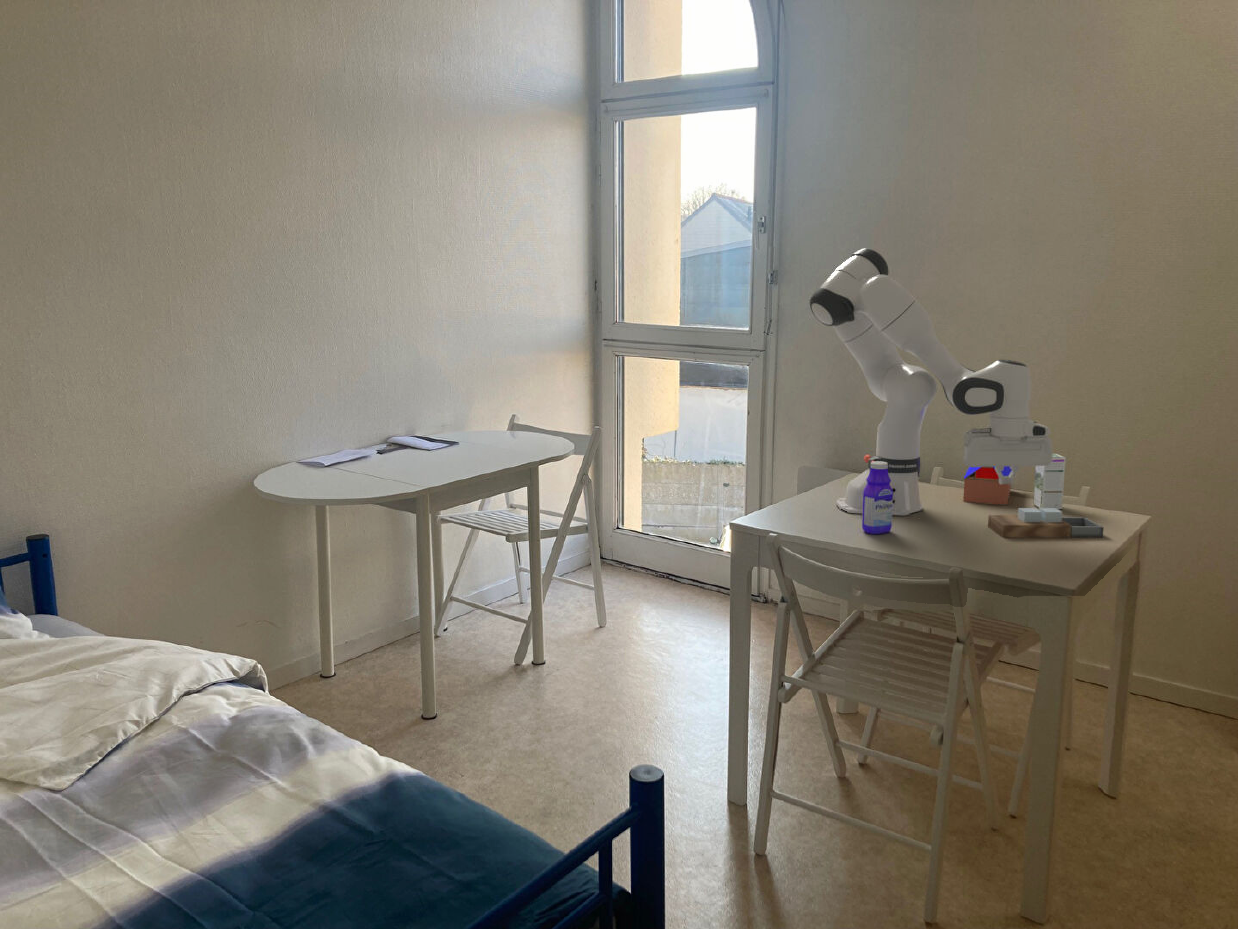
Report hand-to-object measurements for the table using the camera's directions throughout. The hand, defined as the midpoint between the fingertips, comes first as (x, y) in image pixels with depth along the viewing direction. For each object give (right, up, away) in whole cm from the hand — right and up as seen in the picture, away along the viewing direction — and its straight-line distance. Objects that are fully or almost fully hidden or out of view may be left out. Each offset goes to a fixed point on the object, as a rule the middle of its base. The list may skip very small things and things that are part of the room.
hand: (1006, 484), depth 230 cm
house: (+11, -5, +41) cm, 42 cm away
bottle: (-31, -12, +3) cm, 33 cm away
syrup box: (+22, -7, +27) cm, 35 cm away
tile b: (+6, -9, +2) cm, 11 cm away
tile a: (+11, -9, +2) cm, 15 cm away
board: (+6, -12, +3) cm, 14 cm away
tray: (+18, -12, +2) cm, 22 cm away
